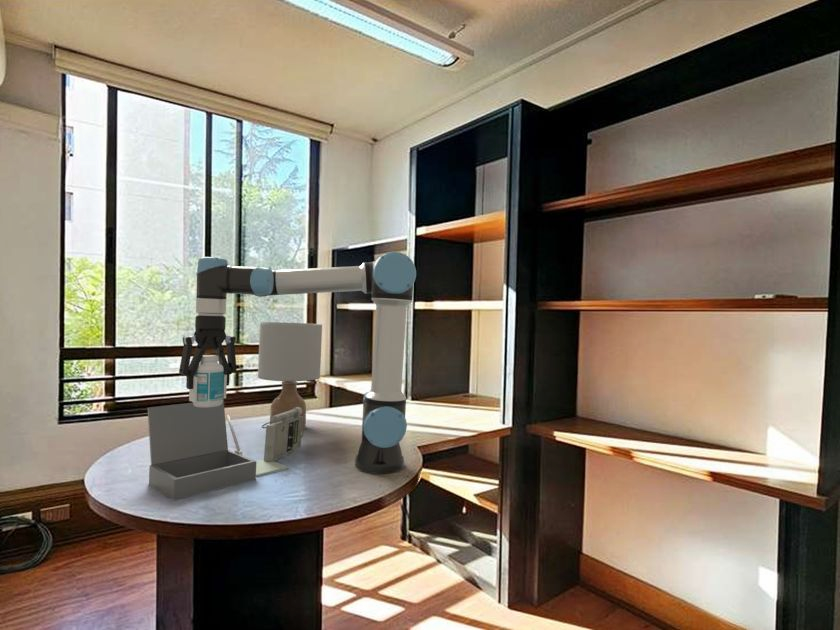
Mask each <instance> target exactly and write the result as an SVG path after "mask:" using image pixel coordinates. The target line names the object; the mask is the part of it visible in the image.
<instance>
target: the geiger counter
mask: <svg viewBox="0 0 840 630" xmlns="http://www.w3.org/2000/svg"><path fill="white" fill-rule="evenodd" d="M301 414H302V409H301V408H300V407H296V408H293V409H292V410H290V411H287V412H284V413H281V414H278V415H275V416H272V418H271V422H270V421H269V422H266V423H264V424H262V425H261V428H262V429H265V443H264V451H263V452H264V453H263V459H264V461H268V462H273V461H275V462H276V461H277V460H279V459H281V458H283V457H285V456H287V455H289V454H291V453H292V452H295V451H296V450H298V449H300V448H301V444H302V439H303V437H304V429H302V422H303V416H300V415H301ZM270 423H272V424H270Z"/></svg>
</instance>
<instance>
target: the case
mask: <svg viewBox="0 0 840 630" xmlns="http://www.w3.org/2000/svg"><path fill="white" fill-rule="evenodd" d="M226 419H227V422H228V425H229V428H230V431H231V434H232V437H233V438H232V439H233V441H234V444H235V448H236V450H235V451H233V450H231V449H229V446H228V445H229V444H228V443H229V442H228V432H227V422H226ZM147 420H148V421H147V422H148V435H149V436H148V437H149V438H148V439H149V454H150V465H149V474H148V485H149V486H151V487H152V488H153V489H155V490H156V491H158V492H160V493H162V494H163V495H165V496H166V497H167V498H169V499H171V500H172V501H177V500H182V499H185V498H188V497H192V496H197V495H200V494H203V493H207V492H211V491H216V490H218V489H223V488H226V487H230V486H234V485H239V484H242V483H246V482H251V481H254V480H256V479H257V477H256V461H257V460H255V459H253V458H250V457H248V456H245V455H243V450H241V448H240V445H239V441H238V439H237V435H236V432H235V429H234V425H233V423H232V420H231V416H230V414H227V415H226V413H225V400H224V399H223V403H222V404H221V405H220V406H216V407H207V408H202V407H195V406H194V405H193V402H187V403H178V404H169V405H160V406H159V405H158V406H151V407H147Z"/></svg>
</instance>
